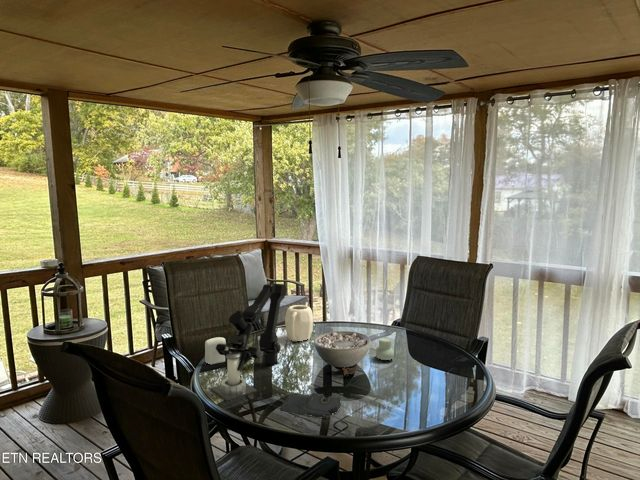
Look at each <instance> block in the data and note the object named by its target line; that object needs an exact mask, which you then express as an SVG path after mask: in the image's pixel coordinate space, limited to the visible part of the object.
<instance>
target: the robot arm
mask: <svg viewBox="0 0 640 480" xmlns="http://www.w3.org/2000/svg"><path fill="white" fill-rule="evenodd" d="M287 291H288V289H287V286H286V285H285V284H284V283H277V282H275V283H270V284H268V283H266V284H264V285H263V286H262V289H261V291H260V292H259V293H258V295H257V297H256V298H255V299H254V301H253V303H252V304H251V305H249V306H247V307H246V308H245V309H244V310H243V311H242V310H236V311H235V312H234V313H232V314H231V315H230V316H229V318H228V322H229V324H231V326H232V327H233V328H234V329H235V330H236V331H237V332H236V334H234V335H232V334H231V335H228V338H227V339H228V340H227V343H228V344H230V347H229V346H228V345H227V343H226V344H220V343H219V344H217V346H216V350H217V351H218V353H219V354H220V355H225V363H224V364H225V368H224V369H225V370H227V358H226V355H227V354H229V353H240V354H241V357H240V363H239V366H238V369H237V370H238V371H240V372H241V370H242V369H243V368H244V366H245V365H246V364H247V363H248V362H249V361H252V360H253V359H257V360H258V359H260V358H261V355H262V361H261V364H263V365H265V366H266V367H273V366H276V365H280V362H279V361H278V359H279V358H278V354H279V353H280V352H281V349H282V348H281V345H280V344H279V342H278V339H279V338H278V335H277V331H276V329H277V325H278V321H279V320H278V318H279V313H280V306H281V302H282V301H283V300H284V299H285V297H286V294H287ZM268 300H270V301H269V302H270V303H269V308H268V313H267V319H266V325H265V330H264V331H263V333H262V332H261V333H260V334H259V340H258V345H259V348H258V347H257V346H248V345H249V344H250V338H251V334H252V332H255V329H254V326H253V325H252V324H254V325H255V324H258V323H259V322H260V320H261V318H262V310H263V309H264V307H265V305H266V304H267V302H268ZM247 346H248V347H247ZM259 349H260V350H259ZM261 352H263V353H261Z"/></svg>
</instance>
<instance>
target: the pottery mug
mask: <svg viewBox="0 0 640 480" xmlns="http://www.w3.org/2000/svg"><path fill="white" fill-rule="evenodd" d="M354 365H355V364H354ZM358 369H359V366H358V363H357V364H356V365H355V366H354V367H352V368H348V369H347V368H345V367H344V368H342V370H341V371H343V373H344V374H351V375H353V374H356V372H357V371H358Z"/></svg>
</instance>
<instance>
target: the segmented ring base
mask: <svg viewBox="0 0 640 480" xmlns="http://www.w3.org/2000/svg"><path fill="white" fill-rule="evenodd" d="M246 382H247V380H246V379H245V378H243V377H240V384H239V385H235V386H230V385H228V378H225V379H223V380H222V381H221V384H220V385H216V386H212V387H210V390H211V391H212V392H213V391H214V392H213V393H214V394H216V395H218V396H219V397H220V396H221V397H220V398H222V399H223V400H224V399H225V402H228V400H229V401H232V400H234V399H238V398H241V397H245V396H247V395H250V394H254V393H257V392H258V390H257V389H256V388H254V387H253V386H251V385H249V384H248V383H246Z"/></svg>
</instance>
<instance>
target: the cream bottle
mask: <svg viewBox="0 0 640 480" xmlns="http://www.w3.org/2000/svg"><path fill="white" fill-rule="evenodd" d="M241 357H242V353H233V352H231V353H229V354H227V355H226V358H227V379H228V385H230V386H235V385H239V384H240V378H241V370H240V371H238V370H237V369H238V366H239V363H240V360H241Z"/></svg>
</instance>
